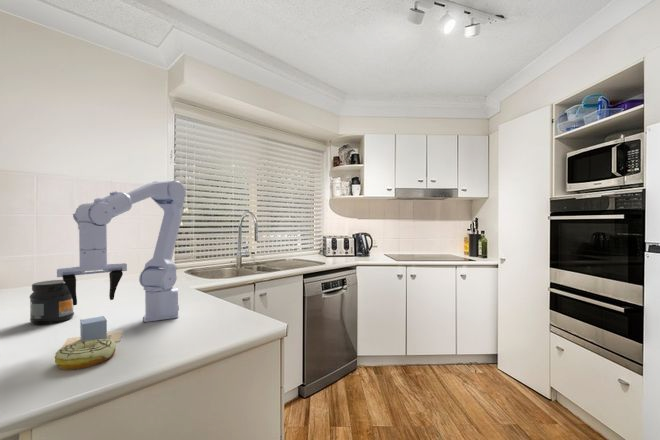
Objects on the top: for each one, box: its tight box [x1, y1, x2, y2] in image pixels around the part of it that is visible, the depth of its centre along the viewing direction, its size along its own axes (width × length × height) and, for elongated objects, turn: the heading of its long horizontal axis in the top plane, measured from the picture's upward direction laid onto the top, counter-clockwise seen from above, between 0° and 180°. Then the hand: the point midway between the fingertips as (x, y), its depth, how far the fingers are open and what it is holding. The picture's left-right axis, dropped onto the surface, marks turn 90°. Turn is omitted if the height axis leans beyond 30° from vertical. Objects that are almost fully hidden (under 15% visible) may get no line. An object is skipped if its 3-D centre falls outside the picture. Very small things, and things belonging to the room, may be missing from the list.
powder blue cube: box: [79, 315, 108, 341], centre depth 83 cm, size 5×5×5 cm
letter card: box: [60, 330, 123, 349], centre depth 83 cm, size 12×9×1 cm
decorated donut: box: [54, 339, 117, 371], centre depth 71 cm, size 10×11×4 cm
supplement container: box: [29, 279, 75, 326], centre depth 101 cm, size 10×10×12 cm
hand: (93, 301), depth 83 cm, fingers open, 7 cm apart
